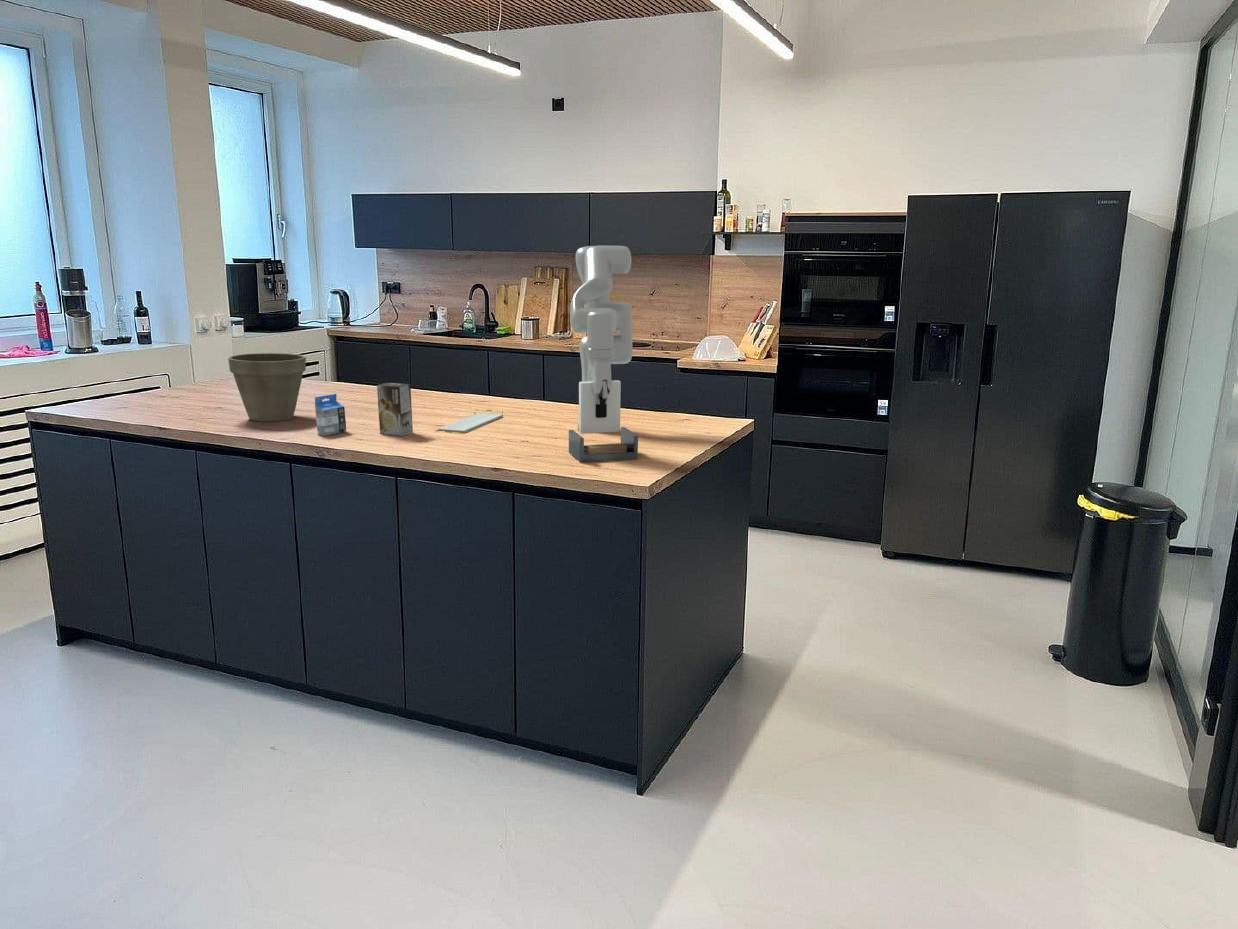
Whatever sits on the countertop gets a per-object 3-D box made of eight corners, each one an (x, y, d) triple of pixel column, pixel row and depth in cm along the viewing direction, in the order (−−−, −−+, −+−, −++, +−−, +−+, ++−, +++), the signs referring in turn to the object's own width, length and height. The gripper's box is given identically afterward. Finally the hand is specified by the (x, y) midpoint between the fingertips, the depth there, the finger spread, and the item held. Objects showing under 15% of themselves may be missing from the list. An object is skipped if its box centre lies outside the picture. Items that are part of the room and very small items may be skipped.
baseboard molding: (431, 432, 287) (464, 435, 284) (430, 424, 286) (463, 426, 283) (472, 416, 316) (503, 418, 313) (472, 408, 315) (503, 410, 312)
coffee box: (414, 432, 284) (411, 383, 280) (402, 436, 278) (400, 386, 274) (390, 430, 287) (388, 382, 283) (378, 433, 281) (375, 384, 277)
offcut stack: (580, 458, 253) (580, 445, 252) (623, 456, 257) (623, 442, 256) (584, 462, 249) (584, 448, 248) (627, 459, 253) (627, 446, 252)
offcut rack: (568, 452, 258) (568, 429, 256) (624, 449, 263) (624, 427, 262) (579, 462, 247) (579, 438, 245) (637, 459, 252) (638, 435, 250)
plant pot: (323, 413, 314) (319, 353, 309) (286, 426, 291) (281, 361, 286) (260, 410, 319) (254, 351, 313) (218, 422, 295) (212, 359, 290)
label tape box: (325, 436, 276) (322, 398, 273) (316, 434, 278) (313, 397, 275) (346, 431, 284) (344, 394, 281) (338, 430, 286) (335, 393, 283)
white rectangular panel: (578, 432, 257) (579, 381, 253) (617, 429, 260) (618, 380, 256) (581, 433, 254) (581, 383, 250) (619, 431, 258) (620, 381, 254)
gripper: (580, 350, 258) (580, 411, 262) (595, 358, 243) (594, 422, 248) (604, 350, 260) (604, 410, 265) (620, 357, 245) (619, 421, 250)
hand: (599, 415), depth 256 cm, fingers closed on white rectangular panel, 2 cm apart
